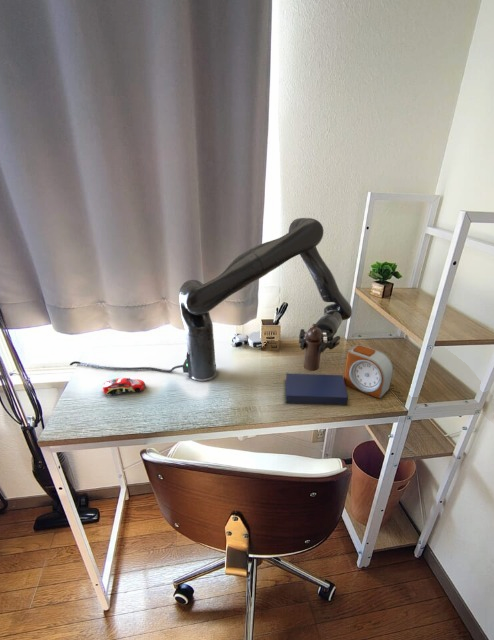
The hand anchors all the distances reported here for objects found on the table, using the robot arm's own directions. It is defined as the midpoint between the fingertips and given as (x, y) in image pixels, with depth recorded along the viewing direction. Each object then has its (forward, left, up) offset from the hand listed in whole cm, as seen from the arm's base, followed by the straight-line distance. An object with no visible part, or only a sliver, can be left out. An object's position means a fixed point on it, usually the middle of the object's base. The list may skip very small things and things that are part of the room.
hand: (311, 348), depth 115 cm
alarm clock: (+21, +7, -18) cm, 29 cm away
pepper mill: (+1, +3, -8) cm, 8 cm away
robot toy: (-22, +36, -18) cm, 46 cm away
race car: (-61, 0, -18) cm, 64 cm away
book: (+3, +2, -18) cm, 18 cm away
